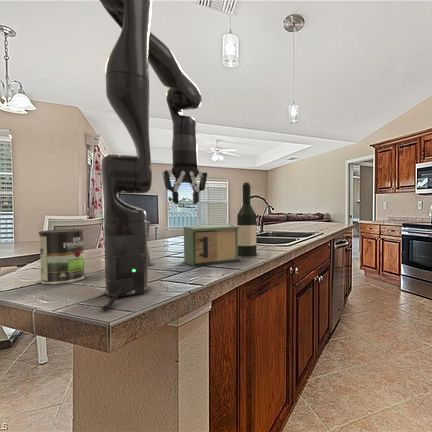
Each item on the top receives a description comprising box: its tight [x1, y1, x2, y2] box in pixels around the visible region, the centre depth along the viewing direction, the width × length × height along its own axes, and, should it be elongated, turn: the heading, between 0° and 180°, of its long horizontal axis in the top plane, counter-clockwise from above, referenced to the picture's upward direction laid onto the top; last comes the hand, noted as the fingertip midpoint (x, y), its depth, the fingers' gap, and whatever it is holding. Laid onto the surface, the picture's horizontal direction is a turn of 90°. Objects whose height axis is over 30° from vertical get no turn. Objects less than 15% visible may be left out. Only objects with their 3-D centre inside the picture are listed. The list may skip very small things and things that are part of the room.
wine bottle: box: [236, 182, 257, 257], centre depth 134 cm, size 8×8×30 cm
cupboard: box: [183, 224, 240, 267], centre depth 118 cm, size 11×17×13 cm, turn 125°
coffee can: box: [38, 228, 86, 285], centre depth 91 cm, size 10×10×14 cm
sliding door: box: [195, 231, 217, 263], centre depth 110 cm, size 6×8×11 cm
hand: (185, 203), depth 102 cm, fingers open, 5 cm apart
